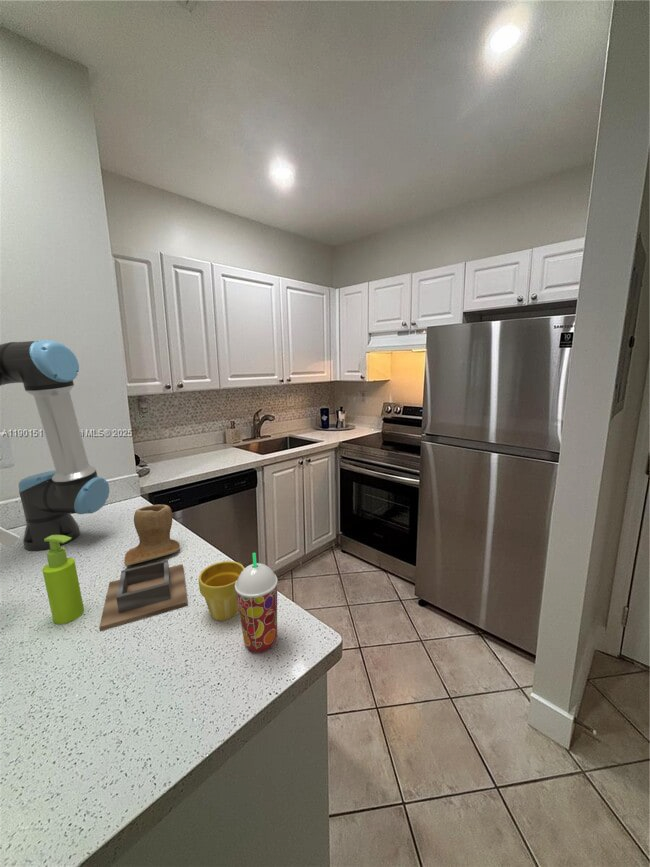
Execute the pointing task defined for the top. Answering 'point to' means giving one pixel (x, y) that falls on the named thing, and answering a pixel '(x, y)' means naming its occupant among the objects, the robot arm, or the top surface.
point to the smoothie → (257, 605)
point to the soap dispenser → (62, 582)
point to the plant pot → (220, 588)
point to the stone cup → (152, 534)
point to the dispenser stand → (144, 593)
